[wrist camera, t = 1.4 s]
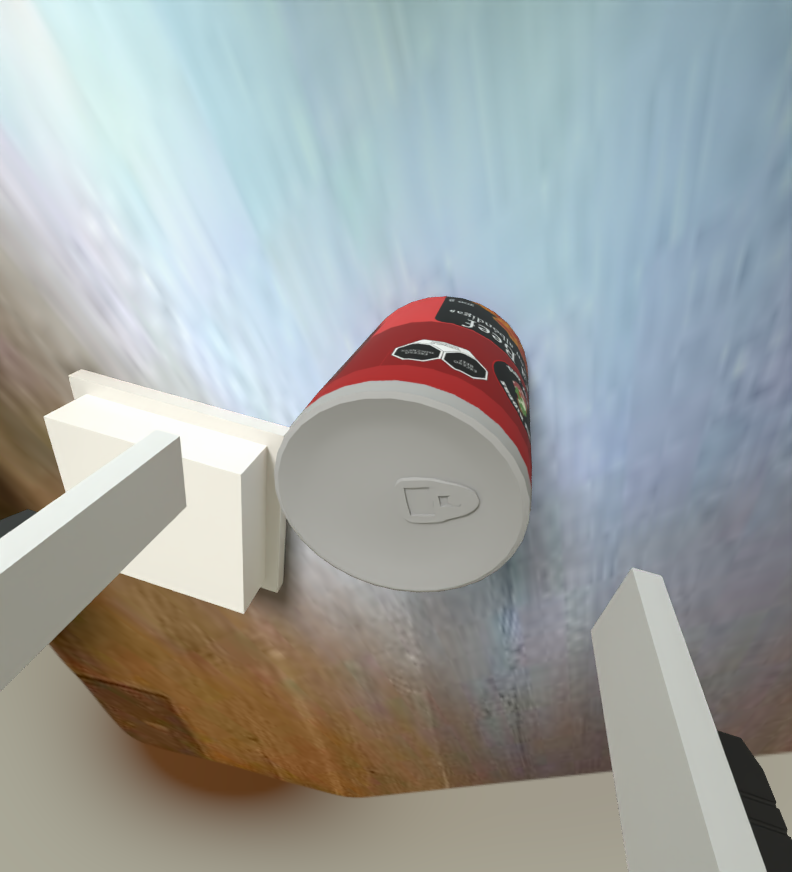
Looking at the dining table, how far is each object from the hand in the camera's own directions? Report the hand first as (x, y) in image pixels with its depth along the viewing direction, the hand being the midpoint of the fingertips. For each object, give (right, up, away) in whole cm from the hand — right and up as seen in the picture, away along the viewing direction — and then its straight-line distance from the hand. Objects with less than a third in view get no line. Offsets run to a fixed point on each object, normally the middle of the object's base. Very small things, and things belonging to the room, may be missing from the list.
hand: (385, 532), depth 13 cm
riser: (-14, -1, +18) cm, 23 cm away
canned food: (+3, +6, +10) cm, 12 cm away
